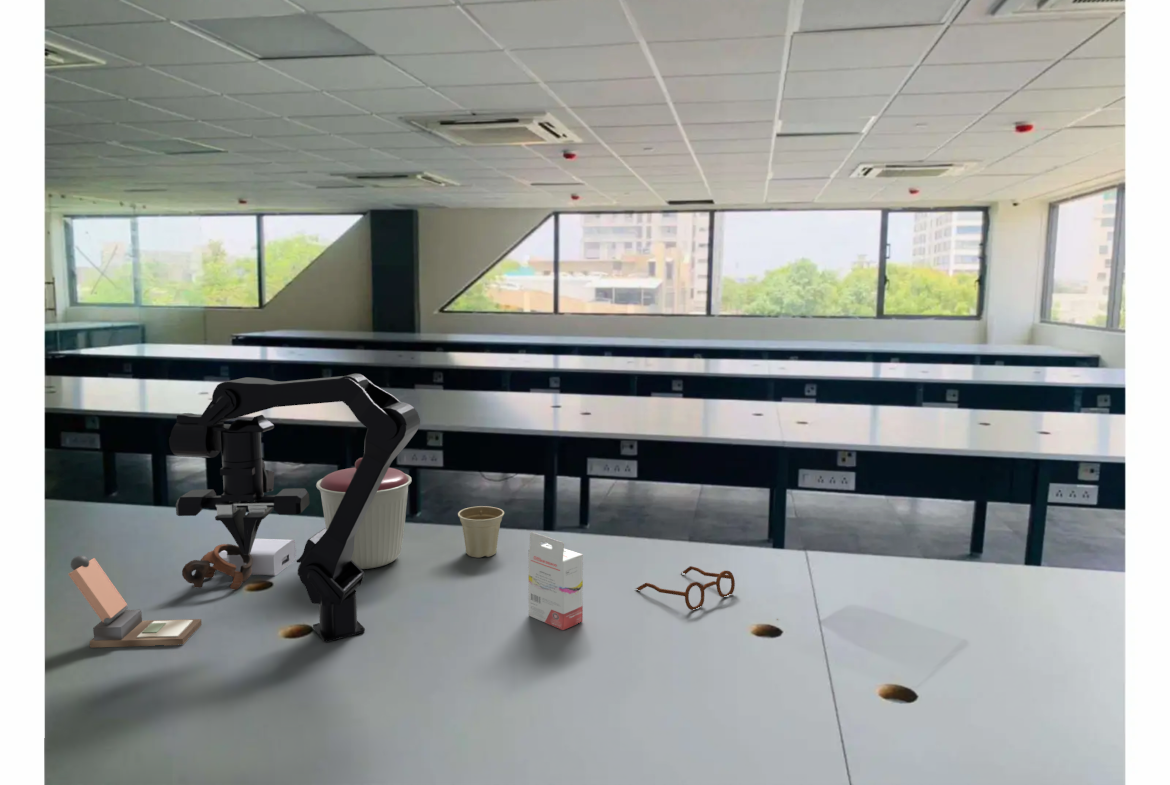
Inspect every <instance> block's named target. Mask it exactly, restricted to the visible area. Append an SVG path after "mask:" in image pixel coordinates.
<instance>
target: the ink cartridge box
mask: <svg viewBox="0 0 1170 785" xmlns="http://www.w3.org/2000/svg"><path fill="white" fill-rule="evenodd" d="M541 543H543V544H541ZM528 547H529V548H528V616H529V617H531V618H534V619H536V620H538V621H540V622H543V623H545V624H547V625H549V626H552V627H554V628H557V629H559V630H561V631H565V630H567V629H569V628H572V627H574V626H575V625H578V623H579V624H581V623H583V622H584V621H583V618H584V617H583V607H584V606H583V605H584V604H583V603H584V601H583V599H584V598H583V595H584V592H583V588H584V587H583V586H584V585H583V584H584V577H583V575H584V571H583V570H584V568H583V567H584V566H583V565H584V562H583V561H584V554H583V553H579V552H576V551H573V550H570V549H567V548H565V543H564V541H560V540H557V539H554V538H552V537H549V536H546V535H544V534H540V533H537V532H533V531H530V533H529V546H528ZM580 622H581V623H580Z"/></svg>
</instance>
